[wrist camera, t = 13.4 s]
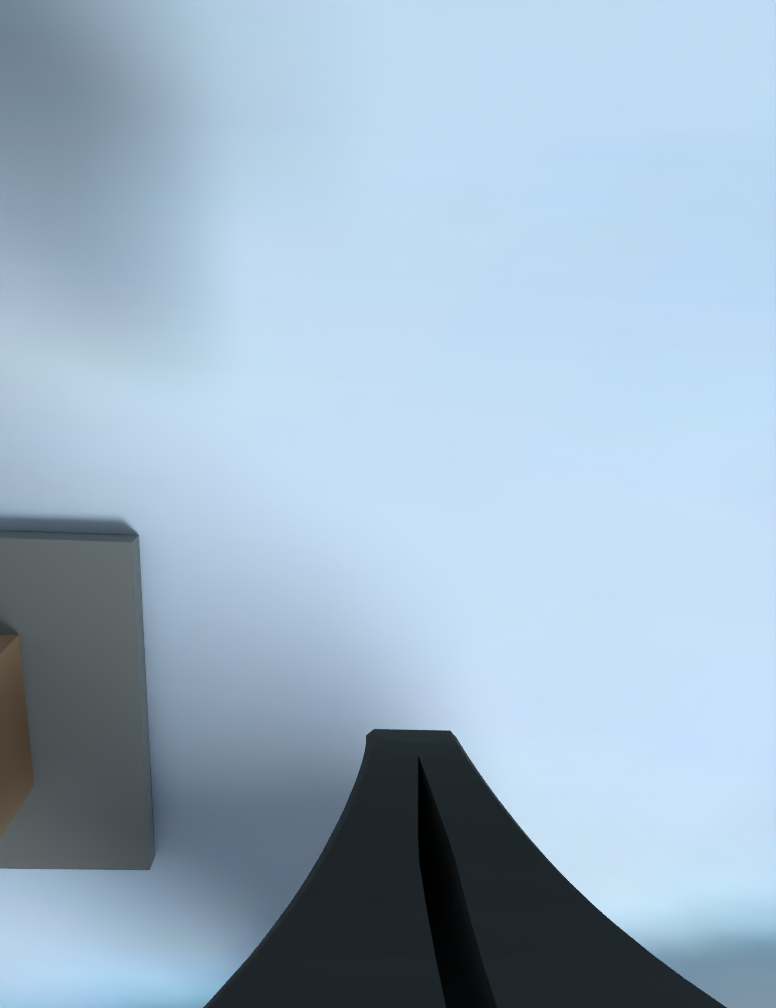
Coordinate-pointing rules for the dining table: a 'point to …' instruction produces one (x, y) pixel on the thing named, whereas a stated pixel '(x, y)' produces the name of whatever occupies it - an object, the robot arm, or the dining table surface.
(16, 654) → the slab
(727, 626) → the dining table surface
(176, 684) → the dining table surface
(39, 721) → the mat
